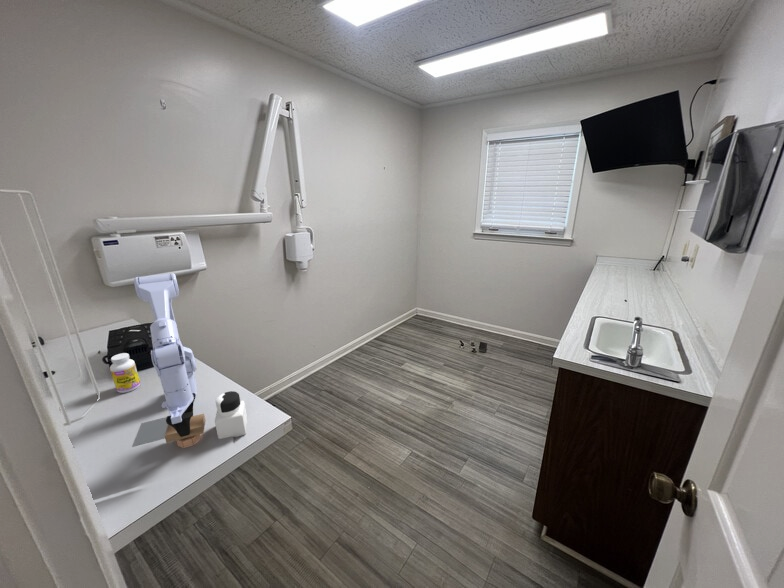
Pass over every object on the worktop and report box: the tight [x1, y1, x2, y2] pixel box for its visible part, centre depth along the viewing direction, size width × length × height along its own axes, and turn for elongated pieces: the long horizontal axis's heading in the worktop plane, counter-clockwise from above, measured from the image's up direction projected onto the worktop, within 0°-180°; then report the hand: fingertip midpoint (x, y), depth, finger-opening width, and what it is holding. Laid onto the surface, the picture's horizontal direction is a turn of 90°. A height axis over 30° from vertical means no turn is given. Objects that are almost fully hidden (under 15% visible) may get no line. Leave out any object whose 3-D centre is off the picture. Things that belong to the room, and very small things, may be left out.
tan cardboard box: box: [164, 413, 206, 444], centre depth 86 cm, size 6×8×2 cm, turn 114°
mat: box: [131, 416, 168, 448], centre depth 91 cm, size 10×10×1 cm
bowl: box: [175, 434, 203, 449], centre depth 87 cm, size 6×6×3 cm
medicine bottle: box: [214, 390, 248, 440], centre depth 90 cm, size 7×7×12 cm
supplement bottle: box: [109, 352, 141, 394], centre depth 108 cm, size 7×7×13 cm
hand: (186, 427), depth 86 cm, fingers closed on tan cardboard box, 5 cm apart
